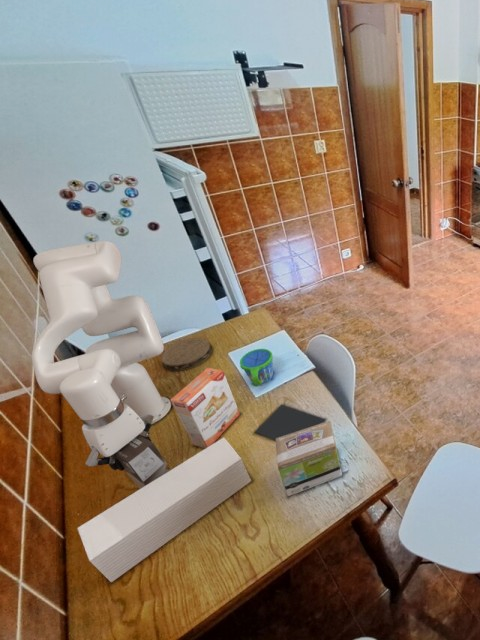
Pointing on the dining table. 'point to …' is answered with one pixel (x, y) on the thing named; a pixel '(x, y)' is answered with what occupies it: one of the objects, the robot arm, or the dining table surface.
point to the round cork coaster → (186, 354)
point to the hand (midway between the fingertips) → (133, 456)
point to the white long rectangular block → (162, 509)
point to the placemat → (287, 422)
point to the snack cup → (258, 366)
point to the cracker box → (206, 407)
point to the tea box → (307, 458)
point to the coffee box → (142, 461)
